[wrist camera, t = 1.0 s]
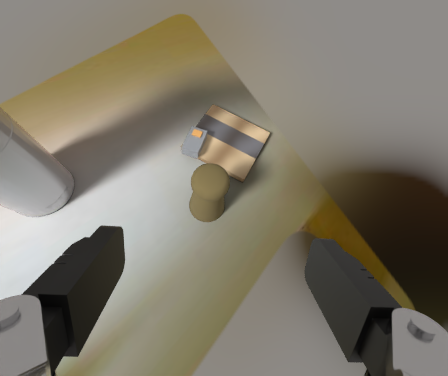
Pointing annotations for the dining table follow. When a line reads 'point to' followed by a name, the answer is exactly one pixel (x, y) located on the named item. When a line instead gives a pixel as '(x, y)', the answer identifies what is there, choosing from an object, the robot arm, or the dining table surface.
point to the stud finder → (194, 142)
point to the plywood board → (231, 142)
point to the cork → (208, 192)
